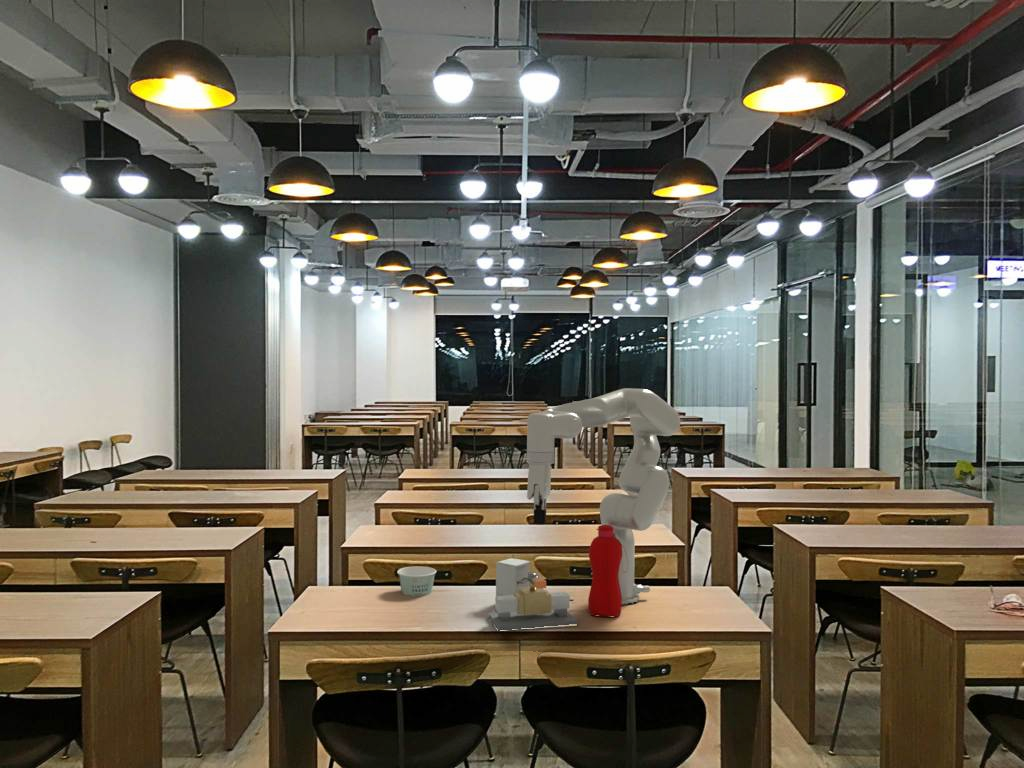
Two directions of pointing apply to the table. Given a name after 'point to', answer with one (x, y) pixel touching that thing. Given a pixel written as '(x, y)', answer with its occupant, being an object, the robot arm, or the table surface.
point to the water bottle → (605, 573)
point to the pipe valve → (532, 602)
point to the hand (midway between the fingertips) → (539, 523)
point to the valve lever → (536, 580)
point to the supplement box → (511, 576)
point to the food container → (416, 580)
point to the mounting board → (531, 620)
